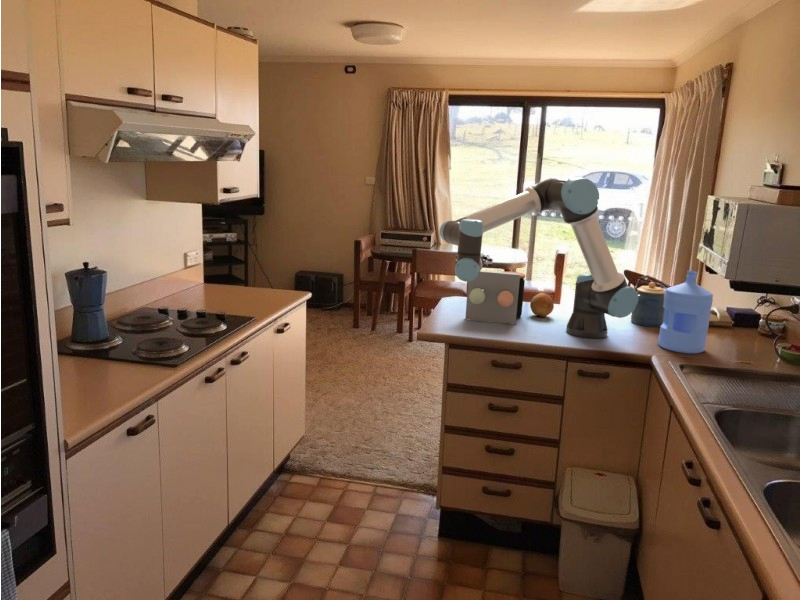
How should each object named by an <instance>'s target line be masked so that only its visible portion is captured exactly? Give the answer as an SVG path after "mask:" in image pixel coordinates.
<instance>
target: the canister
mask: <svg viewBox="0 0 800 600" xmlns="http://www.w3.org/2000/svg"><path fill="white" fill-rule="evenodd" d="M636 291H637V293H638V303H637V305H636V308H635V309H634V311H633V312H632V313H631V314H630V322H631V323H632V324H634V325H638V326H642V327H647V328H648V327H650V328H659V327H660V326H661V325H662V324H663V322H664V315H665V308H664V307H663V305H664V295H665V292H666V290H664V289H663V287H658V286H656V282H653V281H650V282H649V283H648V285H641V286H639V287H637V288H636Z"/></svg>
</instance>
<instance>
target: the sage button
mask: <svg viewBox="0 0 800 600" xmlns="http://www.w3.org/2000/svg"><path fill="white" fill-rule="evenodd" d="M469 299H470V301H471V302H472V303H474V304H480V303H482V302H483V301H484V299H485V293H484V291H483V290H482V289H479V288H475V289H473V290H472V291H471V292H470V294H469Z"/></svg>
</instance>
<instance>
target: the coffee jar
mask: <svg viewBox="0 0 800 600" xmlns="http://www.w3.org/2000/svg"><path fill="white" fill-rule="evenodd" d="M504 272H505V273H517V274H520V281H519V292H518V303H517V314H516V319H519V318H520V317H521V316H522V313H523V303H524V296H525V295H524V292H525V285H526V282H525V281H526V280H525V277H526V274H525V273H522V272H519V271H517V272H516V271H504Z"/></svg>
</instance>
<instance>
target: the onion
mask: <svg viewBox="0 0 800 600" xmlns="http://www.w3.org/2000/svg"><path fill="white" fill-rule="evenodd" d="M554 305H555V304H554V301H553V299H552V297H551V296H550V295H549V294H547V293H545V292H540V293H537V294H536V295H534V296H533V297H532V299H531V300H530V303H529V306H530V307H529V308H530V310H531V312H532V314H533V315H535V316H539V317H541V318H545V317H547V316H549V315H550V314H551V313H552V312H553V311H554V308H555V306H554Z"/></svg>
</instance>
